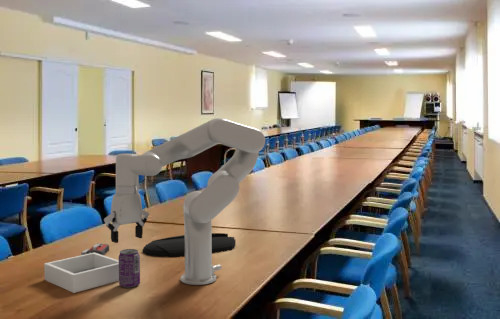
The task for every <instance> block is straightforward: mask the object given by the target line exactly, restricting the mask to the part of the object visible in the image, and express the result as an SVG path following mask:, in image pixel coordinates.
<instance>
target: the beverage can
mask: <svg viewBox="0 0 500 319" xmlns="http://www.w3.org/2000/svg"><path fill="white" fill-rule="evenodd" d="M140 257H141V256H140V254H139V250H138V249H135V248H127V249H126V248H124V249H122V250H120V251H119V256H118V260H119V281H118V284H119V286H121V287H123V288H128V289H129V288H135V287H136V286H139V285H140V283H141V262H140V261H141V260H140V259H141V258H140Z"/></svg>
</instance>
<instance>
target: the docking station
mask: <svg viewBox="0 0 500 319" xmlns="http://www.w3.org/2000/svg"><path fill="white" fill-rule="evenodd" d="M235 247H236V239H235V237H234V236H229V233H226V232H225V233H221V232H217V233H216V232H213V233H212V254H216V253H215V252H217V253H222V252H221V251H223V252H228V251H227V250H229V251H232V250H234V249H235ZM142 253H143V254H144V255H147V256H150V257H157V258H158V257H159V258H160V257H163V258H164V257H165V258H166V257H167V258H181V257H180V256H182V257H185V234H183V235H182V234H181V235H176V236H175V235H174V236H169V237H163V238H160V239H156V240H152V241H151V242H149V243H147V244H146V245H145V246H144V247H143V248H142Z"/></svg>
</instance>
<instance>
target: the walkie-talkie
mask: <svg viewBox="0 0 500 319" xmlns="http://www.w3.org/2000/svg"><path fill="white" fill-rule="evenodd" d="M109 251H110V245H109V244H108V243H100V242H98V243H96V244H94V245H93V246H91V247H90V248H86V249H85V250H83V251H81V255H85V254H90V253H94V252H95V253H98V254H101V255H104V256H106V254H107V253H108V252H109ZM81 255H80V256H81Z"/></svg>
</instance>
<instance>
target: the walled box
mask: <svg viewBox="0 0 500 319" xmlns="http://www.w3.org/2000/svg"><path fill="white" fill-rule="evenodd" d="M43 265H44V280H45V281H46V282H48V283H51V284H53V285H54V286H55V285H56V286H58V287H60V288H62V289H65V291H68V292H71V293H73V294H75V293H78V292H81V291H82V292H83V291H86V290H89V289H93V288H97V287H100V286H104V285H108V284H113V283H115V282H119V259H116V258H112V257H110V256H107V255H101V254H98V253H95V252H94V253H90V254H85V255H76V256H74V257H73V256H71V257H67V258H63V259H59V260H53V261H50V262H49V261H48V262H45V263H43Z"/></svg>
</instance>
